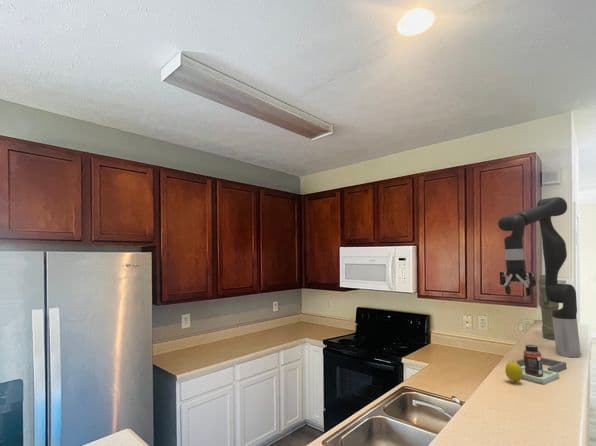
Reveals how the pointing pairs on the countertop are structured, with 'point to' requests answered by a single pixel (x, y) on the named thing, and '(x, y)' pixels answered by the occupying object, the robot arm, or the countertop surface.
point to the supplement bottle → (533, 361)
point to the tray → (546, 378)
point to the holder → (555, 365)
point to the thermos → (546, 311)
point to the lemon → (514, 371)
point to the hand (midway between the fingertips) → (518, 295)
